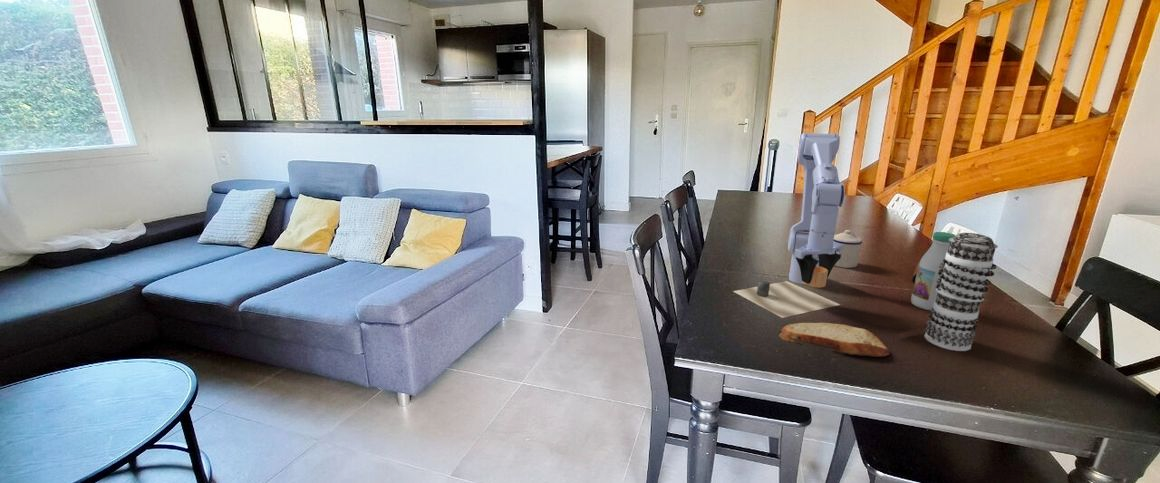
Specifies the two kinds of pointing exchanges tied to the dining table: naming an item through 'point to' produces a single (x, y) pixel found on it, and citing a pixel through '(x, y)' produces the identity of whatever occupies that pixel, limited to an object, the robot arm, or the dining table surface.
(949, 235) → the milk bottle
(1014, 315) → the dining table surface
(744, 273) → the dining table surface
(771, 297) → the board
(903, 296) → the dining table surface
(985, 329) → the dining table surface
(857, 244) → the teacup with lid
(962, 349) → the decorative candle
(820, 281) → the sleeve
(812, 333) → the slice of bread
